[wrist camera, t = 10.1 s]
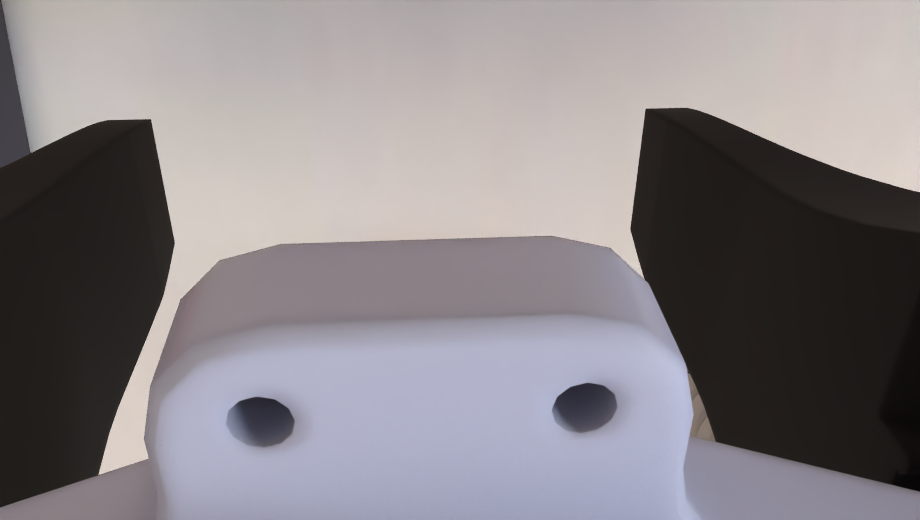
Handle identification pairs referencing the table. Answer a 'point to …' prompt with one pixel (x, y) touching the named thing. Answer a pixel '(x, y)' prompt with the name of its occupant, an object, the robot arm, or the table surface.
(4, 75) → the button keypad
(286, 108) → the table surface
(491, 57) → the table surface
